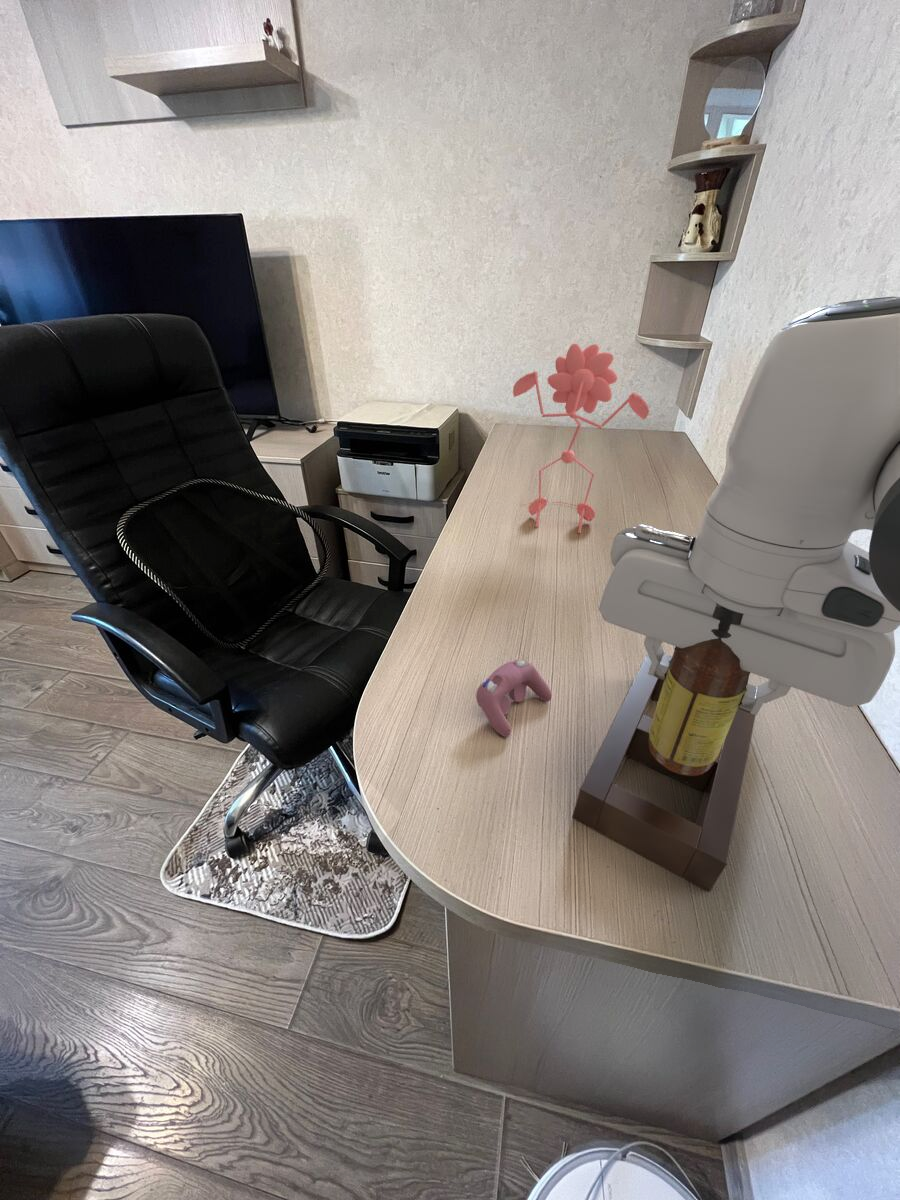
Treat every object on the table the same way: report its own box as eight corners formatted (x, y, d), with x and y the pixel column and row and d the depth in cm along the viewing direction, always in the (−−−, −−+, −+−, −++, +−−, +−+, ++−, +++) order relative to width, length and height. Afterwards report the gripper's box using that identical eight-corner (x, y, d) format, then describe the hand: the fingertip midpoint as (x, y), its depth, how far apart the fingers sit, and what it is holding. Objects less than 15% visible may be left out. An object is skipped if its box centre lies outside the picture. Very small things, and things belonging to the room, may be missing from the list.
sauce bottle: (721, 751, 49) (806, 582, 38) (697, 792, 45) (784, 617, 34) (657, 716, 53) (718, 552, 42) (630, 751, 49) (688, 581, 38)
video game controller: (530, 694, 69) (516, 648, 67) (556, 699, 65) (542, 651, 64) (481, 733, 63) (465, 685, 62) (507, 741, 60) (491, 690, 58)
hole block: (745, 722, 63) (759, 694, 61) (709, 892, 46) (727, 864, 44) (638, 680, 69) (646, 653, 66) (571, 817, 52) (579, 789, 50)
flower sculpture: (620, 541, 103) (664, 354, 83) (497, 524, 109) (511, 345, 88) (621, 511, 115) (659, 341, 95) (510, 497, 121) (524, 334, 101)
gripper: (605, 533, 39) (577, 665, 47) (939, 624, 30) (833, 768, 38) (629, 505, 43) (599, 630, 51) (927, 577, 34) (834, 715, 42)
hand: (701, 690), depth 44 cm, fingers closed on sauce bottle, 6 cm apart
